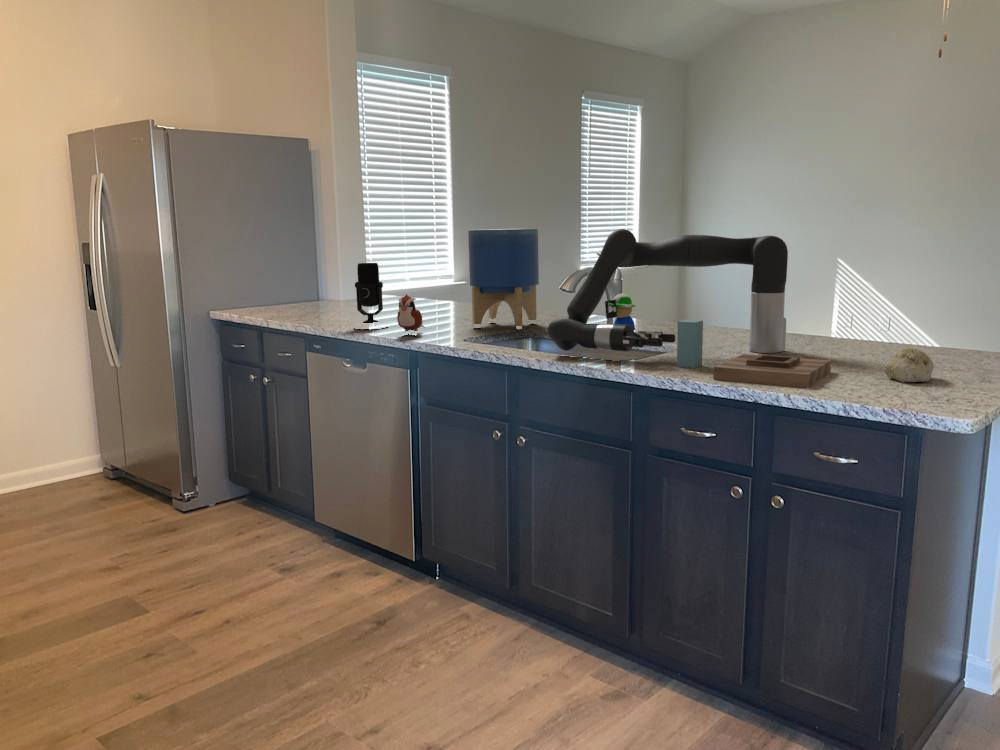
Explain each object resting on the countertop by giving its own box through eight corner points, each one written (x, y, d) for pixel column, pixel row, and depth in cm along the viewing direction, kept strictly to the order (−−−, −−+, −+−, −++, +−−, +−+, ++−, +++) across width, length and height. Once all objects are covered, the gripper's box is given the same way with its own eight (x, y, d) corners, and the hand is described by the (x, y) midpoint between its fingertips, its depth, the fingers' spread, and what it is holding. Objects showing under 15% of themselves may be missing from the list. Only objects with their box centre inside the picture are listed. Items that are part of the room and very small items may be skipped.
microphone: (347, 329, 310) (343, 264, 305) (363, 325, 322) (359, 262, 318) (379, 330, 306) (376, 263, 301) (394, 326, 318) (391, 262, 314)
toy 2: (603, 338, 270) (603, 293, 268) (627, 336, 273) (627, 292, 271) (616, 341, 262) (616, 295, 259) (640, 339, 265) (641, 294, 263)
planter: (460, 325, 315) (457, 230, 308) (520, 321, 326) (518, 228, 319) (488, 332, 292) (485, 229, 285) (551, 327, 302) (550, 228, 296)
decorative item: (883, 356, 198) (926, 342, 193) (896, 390, 197) (940, 376, 191) (875, 357, 188) (920, 342, 183) (889, 393, 186) (935, 378, 181)
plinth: (742, 365, 213) (743, 349, 213) (830, 372, 201) (831, 355, 200) (713, 379, 196) (713, 362, 195) (807, 387, 183) (808, 369, 183)
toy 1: (392, 338, 282) (390, 295, 279) (408, 332, 298) (406, 291, 295) (415, 338, 280) (413, 295, 277) (430, 332, 296) (429, 291, 293)
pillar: (684, 363, 218) (685, 319, 216) (702, 365, 215) (703, 320, 213) (677, 366, 214) (677, 321, 212) (695, 368, 211) (696, 322, 209)
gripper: (602, 326, 220) (657, 329, 211) (625, 321, 231) (679, 323, 222) (602, 354, 221) (657, 358, 212) (625, 347, 233) (678, 350, 223)
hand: (668, 340), depth 217 cm, fingers open, 8 cm apart
